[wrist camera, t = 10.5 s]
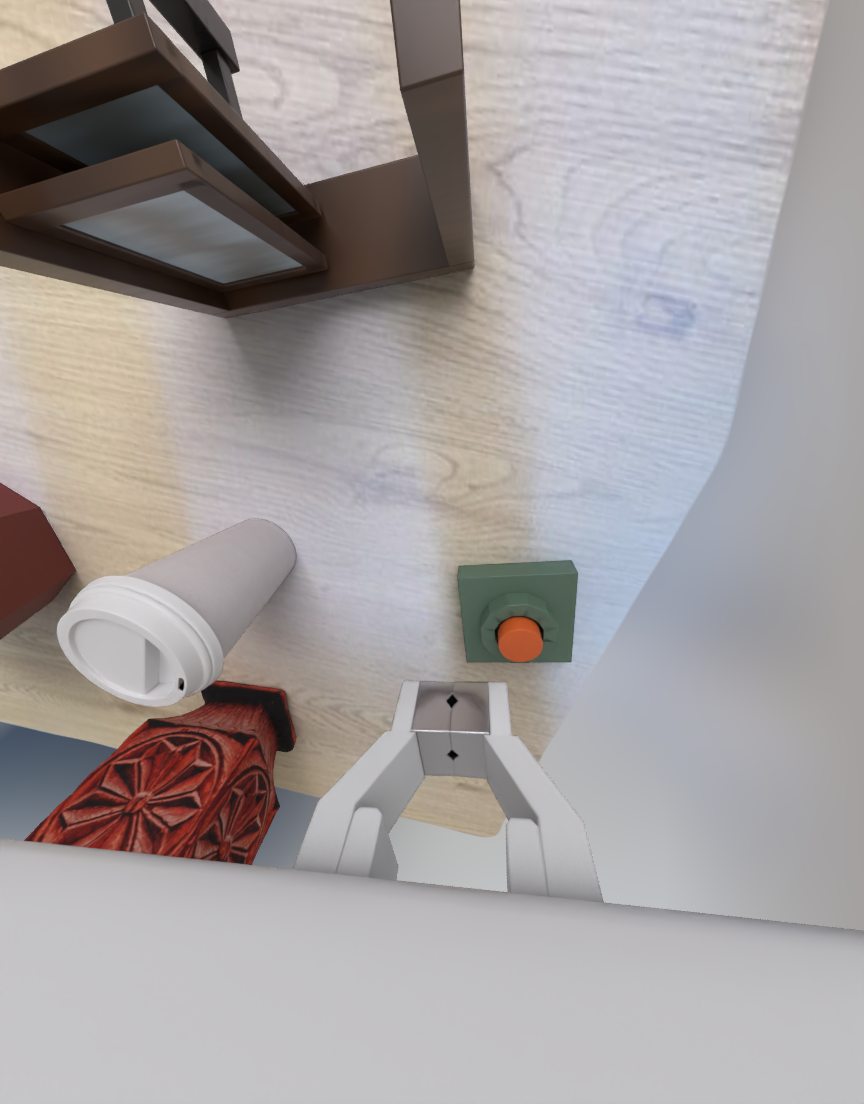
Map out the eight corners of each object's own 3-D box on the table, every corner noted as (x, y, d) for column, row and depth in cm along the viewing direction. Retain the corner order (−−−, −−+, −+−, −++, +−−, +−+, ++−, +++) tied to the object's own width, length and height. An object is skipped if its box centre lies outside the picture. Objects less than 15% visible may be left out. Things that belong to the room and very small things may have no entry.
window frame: (468, 157, 19) (436, -405, 5) (474, 268, 21) (463, 71, 8) (194, 227, 22) (-266, -14, 8) (225, 318, 24) (-101, 243, 11)
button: (540, 615, 28) (543, 629, 27) (539, 647, 30) (542, 662, 28) (496, 616, 29) (497, 629, 27) (498, 648, 31) (499, 662, 29)
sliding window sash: (293, 78, 17) (35, -335, 7) (322, 217, 20) (156, 49, 10) (168, 120, 19) (-198, -183, 9) (209, 244, 21) (-40, 122, 11)
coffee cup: (277, 604, 36) (162, 733, 23) (201, 543, 34) (24, 649, 21) (330, 554, 32) (227, 675, 19) (249, 481, 30) (68, 564, 17)
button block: (571, 560, 30) (584, 584, 26) (566, 646, 34) (576, 677, 30) (458, 565, 31) (456, 589, 28) (467, 647, 36) (466, 676, 32)
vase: (192, 666, 43) (-263, 1124, 17) (294, 681, 42) (-26, 1200, 15) (220, 734, 50) (-77, 1141, 23) (308, 748, 48) (100, 1196, 22)
